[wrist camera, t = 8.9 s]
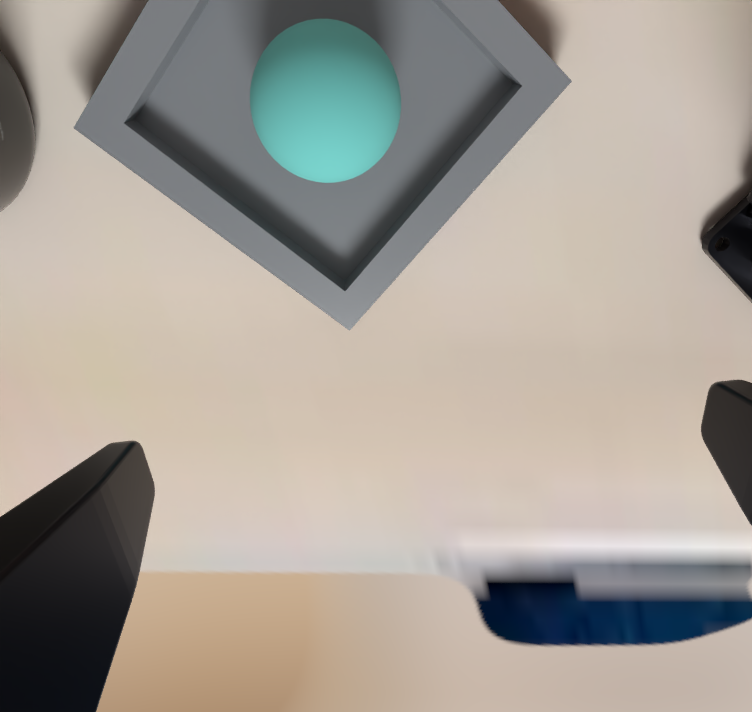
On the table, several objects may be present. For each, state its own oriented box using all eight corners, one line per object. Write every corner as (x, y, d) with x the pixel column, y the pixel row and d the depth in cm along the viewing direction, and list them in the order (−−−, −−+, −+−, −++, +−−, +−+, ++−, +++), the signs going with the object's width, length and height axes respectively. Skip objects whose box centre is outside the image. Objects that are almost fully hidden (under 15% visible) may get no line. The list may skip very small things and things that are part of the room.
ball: (419, 91, 17) (445, 99, 14) (335, 196, 19) (340, 228, 15) (312, -12, 16) (311, -31, 13) (229, 109, 17) (207, 122, 14)
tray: (553, 79, 18) (571, 81, 17) (348, 312, 21) (349, 330, 20) (290, -205, 15) (285, -233, 13) (94, 122, 18) (73, 127, 16)
